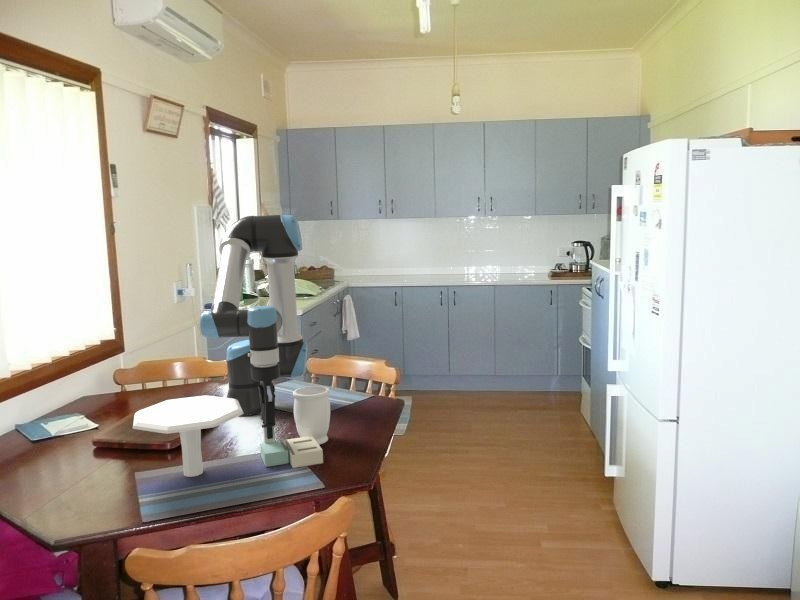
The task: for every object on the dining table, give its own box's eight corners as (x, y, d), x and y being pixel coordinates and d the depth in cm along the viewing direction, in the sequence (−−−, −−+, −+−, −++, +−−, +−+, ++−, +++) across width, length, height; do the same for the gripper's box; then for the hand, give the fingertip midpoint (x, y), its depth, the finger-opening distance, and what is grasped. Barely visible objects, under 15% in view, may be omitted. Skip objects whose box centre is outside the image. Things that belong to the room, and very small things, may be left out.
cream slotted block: (284, 452, 175) (283, 439, 174) (312, 447, 178) (312, 435, 177) (292, 468, 164) (292, 454, 163) (323, 462, 166) (322, 449, 166)
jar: (325, 448, 177) (322, 396, 175) (289, 447, 179) (286, 395, 177) (336, 435, 187) (334, 385, 185) (303, 434, 189) (300, 385, 187)
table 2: (161, 453, 177) (156, 395, 175) (261, 451, 176) (257, 392, 174) (113, 498, 149) (106, 429, 147) (231, 496, 148) (226, 427, 146)
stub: (261, 456, 172) (260, 443, 172) (283, 452, 174) (282, 440, 174) (265, 466, 165) (264, 453, 164) (288, 463, 167) (288, 449, 166)
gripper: (247, 360, 175) (252, 443, 178) (254, 370, 163) (259, 459, 166) (274, 357, 178) (279, 439, 181) (283, 367, 166) (288, 454, 169)
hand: (269, 448), depth 173 cm, fingers closed
